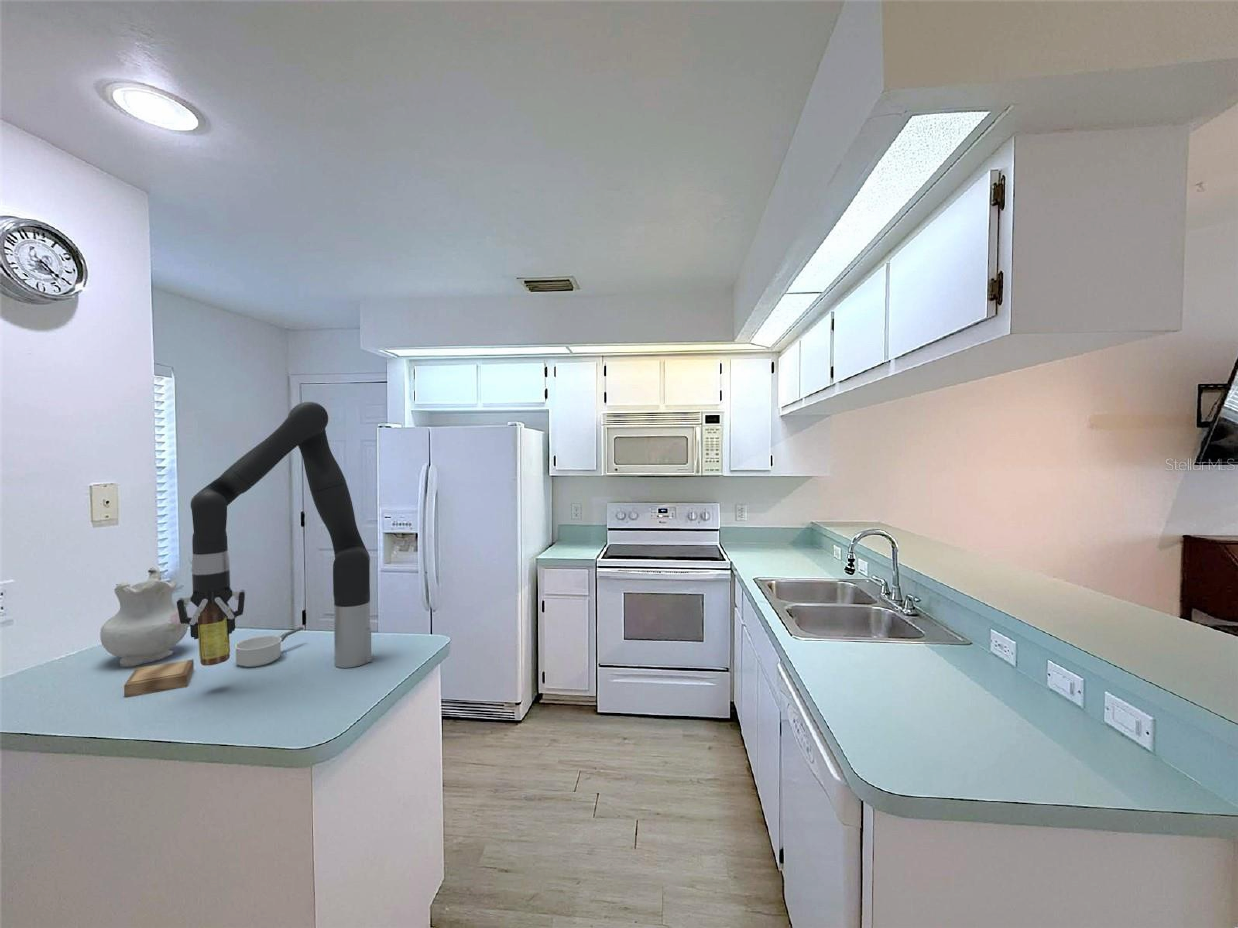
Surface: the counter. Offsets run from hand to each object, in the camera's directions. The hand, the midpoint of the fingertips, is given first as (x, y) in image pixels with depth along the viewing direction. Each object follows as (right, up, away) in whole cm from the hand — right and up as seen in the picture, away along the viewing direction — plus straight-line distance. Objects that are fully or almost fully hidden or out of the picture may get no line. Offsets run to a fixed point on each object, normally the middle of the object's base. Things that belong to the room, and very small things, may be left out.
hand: (213, 635), depth 136 cm
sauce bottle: (0, -7, 0) cm, 7 cm away
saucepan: (0, -14, +23) cm, 27 cm away
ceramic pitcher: (-36, -13, +22) cm, 44 cm away
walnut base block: (-17, -14, +4) cm, 22 cm away
